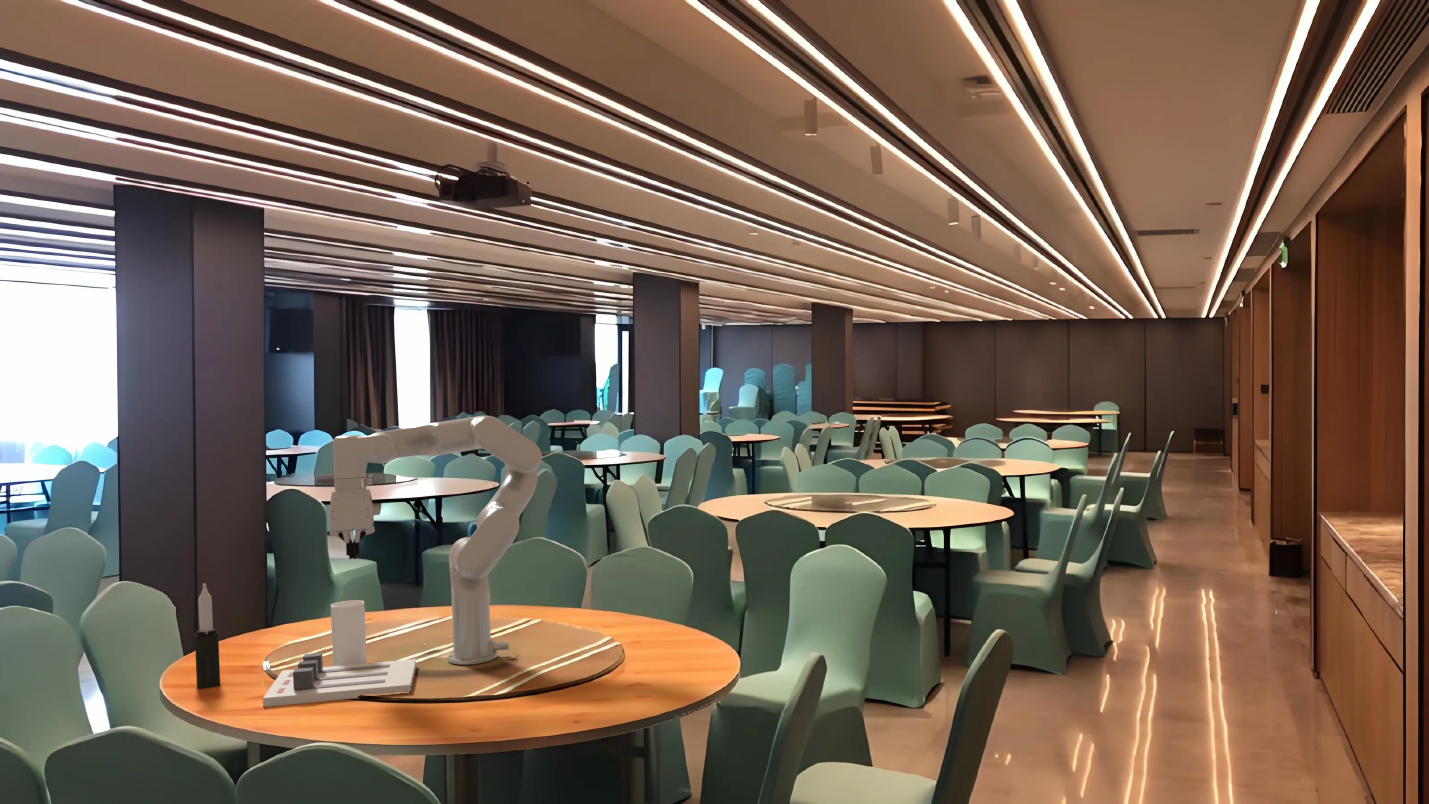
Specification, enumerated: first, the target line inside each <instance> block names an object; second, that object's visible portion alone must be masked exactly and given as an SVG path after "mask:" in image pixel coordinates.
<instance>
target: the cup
mask: <svg viewBox="0 0 1429 804" xmlns="http://www.w3.org/2000/svg"><path fill="white" fill-rule="evenodd" d="M365 611H366V609H365V601H364V600H359V599H358V600H357V599H353V600H343V601H337V602H333V603H331V604H330V619H331V620H330V621H331V624H330V625H331V645H332V666H333V665H334V666H341V665H353V664H364V663H366V662H367V659H368V658H367V636H366V612H365ZM367 663H368V662H367Z"/></svg>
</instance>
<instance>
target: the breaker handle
mask: <svg viewBox="0 0 1429 804" xmlns="http://www.w3.org/2000/svg"><path fill="white" fill-rule="evenodd" d="M312 667H313V670H314V680H317V678H318V660H311V661H303V660H302V661H299V663H298V664H297V669H300V668H312Z"/></svg>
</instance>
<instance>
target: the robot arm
mask: <svg viewBox="0 0 1429 804" xmlns="http://www.w3.org/2000/svg"><path fill="white" fill-rule="evenodd" d="M480 449H484V450H485V451H487V452H488V454H491V455H492V456H493V457H495V458H496V459H498V460H500V462H502V463H504V466H505V471H506V472H505V473H506V474H505V477H504V479H503V482H502V483H501V485H499V486H500V487H499V488H498V490H497V491H496V492H495V494H494V495H493V496H492V497H491V499H490V500H489V501H488V503H487V504H486V505H485V507H484V508H483V509H482V510H481V511H480V512H479V514H478V516H477V519H476V529H475V530H474V532H473V533H472V535H471V536H469V537H468V536H466V537H465V536H464V537H462V538H459V539H458V540H455V542H454V543H453V544H452V546H451V547H450V551H449V553H448V567H449V576H450V585H451V588H450V589H451V614H452V619H451V620H452V639H453V640H452V642H453V643H452V644H453V645H452V646H453V652H452V653H450V654H448V655H447V662H449V663H450V664H453V665H454V664H455V665H460V666H461V665H463V666H464V665H477V664H482V663H483V664H484V663H487V662H491V661H494V660H495V659H496V658H498V652H497V651H507V650H510V649H509V642H508V641H507V642H506V641H505V642H504V641H498V642H497V641H493V637H492V636H491V614H490V613H491V612H490V611H491V610H490V609H491V608H490V607H491V606H490V585H489V574H490V573H491V571H492V570H494V568H495V567H496V565H497V564H498V563H499V561H500V560H501V559H502V557H503V556H504V554H506V552H508V551H507V550H508V549H509V548H510V546H511V545H512V544H513V542H514V541H515V539H516V538H517V536H518V533H519V530H520V519H519V517H520V515H521V514H522V513H523V511H524V510H525V508H526V506H527V505H528V503H529V502H531V501H530V500H532V497H533V495H534V494H535V491H536V488H537V483H538V468H539V467H540V466H541V463H542V459H543V457H542V456H543V455H542V452H541V449H540V448H539V446H538V445H537V443H535V442H533V441H532V440H530V439H529V438H528V437H526V436H524V435H523V434H522V433H520V432H519V431H517V430H515V429H513V428H512V427H511V426H509V425H508V424H507V423H505V422H504V421H502V420H500V419H499V418H497V417H495V416H492V415H478V416H469V417H465V418H464V417H463V418H456V419H450V420H445V421H437V422H431V423H426V424H422V425H418V426H412V427H411V426H410V427H405V428H399V429H398V428H397V429H391V430H390V429H389V430H385V431H384V430H383V431H378V432H374V433H372V434H370V435H364V436H362V435H359V434H358V435H357V434H349V435H346V434H345V435H338V436H335V437H334V439H333V440H332V454H333V459H332V460H333V479H334V480H333V482H334V483H333V484H334V485H333V486H334V490H332V491H331V495H330V503H329V504H330V505H329V527H330V529H329V535H330V536H331V537H337V538H338V537H339V538H340V539H341V540H342V541H343V542H344V543H345V551H346V553H345V555H346V556H348V559H349V560H352V559H354V560H356V559H357V558H358V556H360V552H361V551H360V542H361V540H362V539H363V538H364V537H365V536H367V535H371V534H373V533H375V531H376V529H375V526H374V525H375V524H374V522H375V521H374V520H375V517H374V506H373V497H372V493H371V490H370V488H368V486H370V485H373V478H367V473H366V471H367V470H366V464H367V463H371V464H387V463H389V462H391V461H393V460H394V459H400V458H408V457H412V456H413V457H417V456H431V457H432V456H435V457H436V456H444V455H445V456H446V455H449V454H455V453H461V452H462V453H463V452H468V451H475V450H480ZM350 531H351V532H352V531H355V533H354V539H353V540H352V539H351V534H350Z"/></svg>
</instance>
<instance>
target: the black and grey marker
mask: <svg viewBox="0 0 1429 804" xmlns="http://www.w3.org/2000/svg"><path fill="white" fill-rule="evenodd" d="M212 598H213V597H212V596H211V594H210V593H209V590H208V588H207V583H206V582H205V583H204V582H203V583H202V589H201V593H200V594H199V597H198V598H197V599H198V604H197V605H198V625H199V630H196V631H195V633H194V644H195V645H194V647H195V671H196V672H195V673H196V676H195V677H196V689H198V690H199V689H200V690H202V689H207V688H215V687H220V686H221V667H220V649H219V648H220V647H219V646H220V644H219V632H218V631H219V630H218V629H217V628H214V623H213V619H214V618H213V599H212Z"/></svg>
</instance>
